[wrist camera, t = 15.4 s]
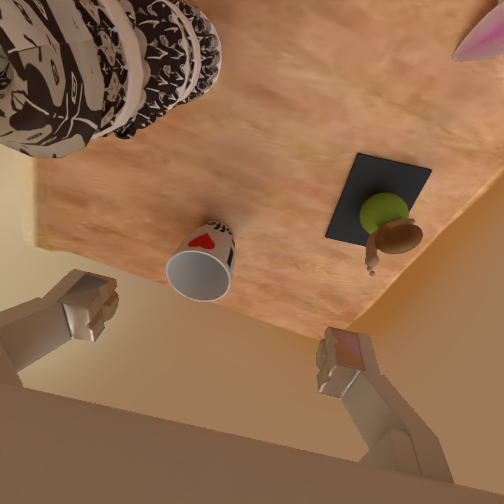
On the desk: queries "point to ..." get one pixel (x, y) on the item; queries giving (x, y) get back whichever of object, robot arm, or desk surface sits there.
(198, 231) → the cup
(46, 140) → the black-white patterned cylinder
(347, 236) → the mat
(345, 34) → the desk surface
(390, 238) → the snail figurine
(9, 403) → the robot arm
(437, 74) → the desk surface
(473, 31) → the lily
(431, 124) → the desk surface
